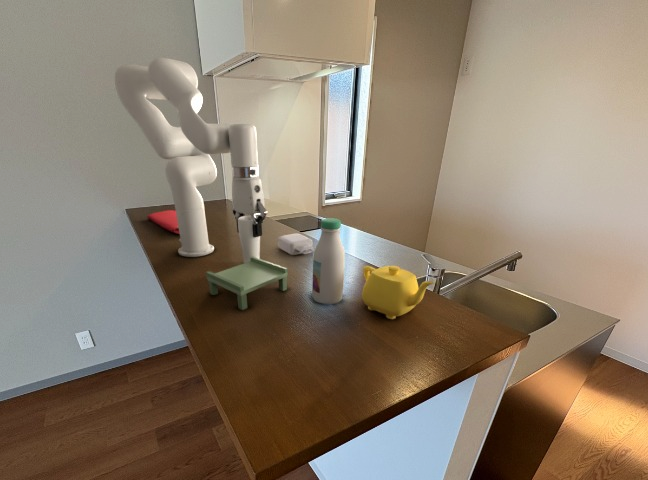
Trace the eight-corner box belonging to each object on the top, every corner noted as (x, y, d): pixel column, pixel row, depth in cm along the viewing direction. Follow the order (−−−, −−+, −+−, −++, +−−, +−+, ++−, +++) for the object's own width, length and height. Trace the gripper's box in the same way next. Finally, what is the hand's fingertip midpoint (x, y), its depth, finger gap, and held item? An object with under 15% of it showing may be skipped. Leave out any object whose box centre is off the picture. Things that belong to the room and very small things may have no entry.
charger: (299, 261, 106) (278, 248, 118) (322, 256, 110) (299, 244, 121) (299, 247, 104) (277, 236, 115) (322, 242, 108) (299, 232, 119)
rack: (208, 293, 85) (205, 272, 82) (254, 276, 95) (252, 256, 92) (242, 310, 76) (240, 287, 73) (288, 289, 87) (287, 268, 84)
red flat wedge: (177, 214, 171) (176, 207, 169) (208, 230, 141) (207, 222, 140) (147, 219, 163) (145, 211, 161) (173, 237, 133) (171, 228, 132)
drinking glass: (258, 268, 100) (256, 221, 93) (238, 267, 102) (234, 220, 95) (264, 261, 106) (262, 215, 99) (245, 260, 108) (241, 215, 101)
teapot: (438, 316, 73) (448, 273, 68) (411, 334, 66) (420, 287, 62) (373, 290, 85) (378, 252, 80) (346, 303, 79) (349, 262, 74)
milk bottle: (344, 293, 84) (350, 217, 75) (339, 306, 77) (344, 225, 68) (316, 289, 86) (318, 215, 77) (308, 302, 80) (310, 222, 70)
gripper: (275, 173, 88) (277, 236, 96) (236, 170, 99) (241, 227, 107) (255, 176, 83) (259, 242, 92) (216, 172, 94) (223, 231, 102)
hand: (249, 233), depth 99 cm, fingers closed on drinking glass, 6 cm apart
